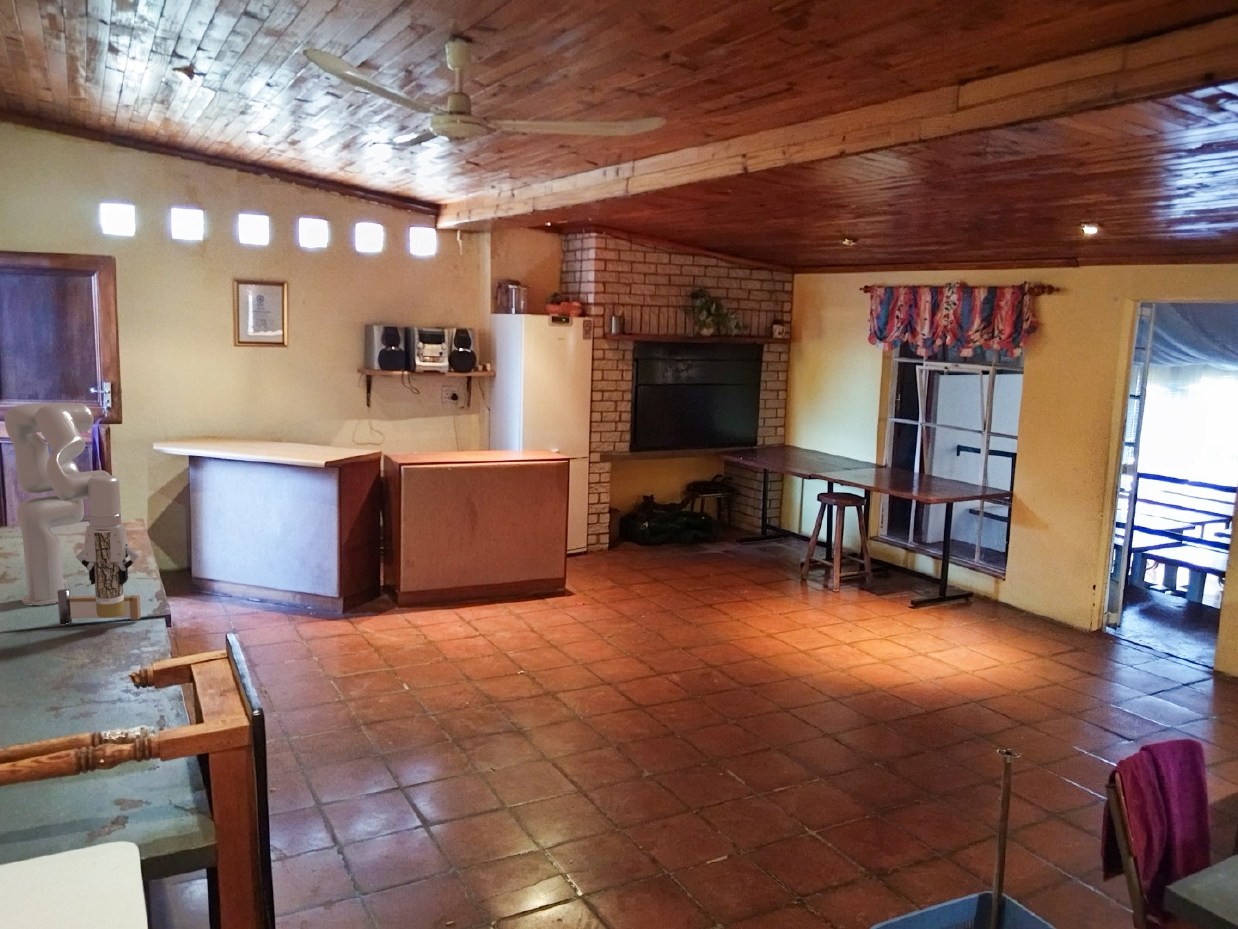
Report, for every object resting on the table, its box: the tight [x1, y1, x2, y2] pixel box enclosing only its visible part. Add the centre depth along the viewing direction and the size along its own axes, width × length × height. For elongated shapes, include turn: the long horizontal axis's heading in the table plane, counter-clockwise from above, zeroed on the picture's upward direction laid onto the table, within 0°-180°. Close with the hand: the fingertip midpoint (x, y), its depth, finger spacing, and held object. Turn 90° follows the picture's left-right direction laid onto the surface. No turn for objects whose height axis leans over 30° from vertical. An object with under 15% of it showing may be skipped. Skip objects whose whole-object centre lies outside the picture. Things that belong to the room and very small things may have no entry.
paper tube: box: [94, 530, 125, 619], centre depth 256 cm, size 7×7×25 cm
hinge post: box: [57, 588, 73, 625], centre depth 262 cm, size 3×3×10 cm
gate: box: [69, 594, 142, 621], centre depth 263 cm, size 2×18×6 cm, turn 97°
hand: (109, 582), depth 257 cm, fingers closed on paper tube, 6 cm apart
